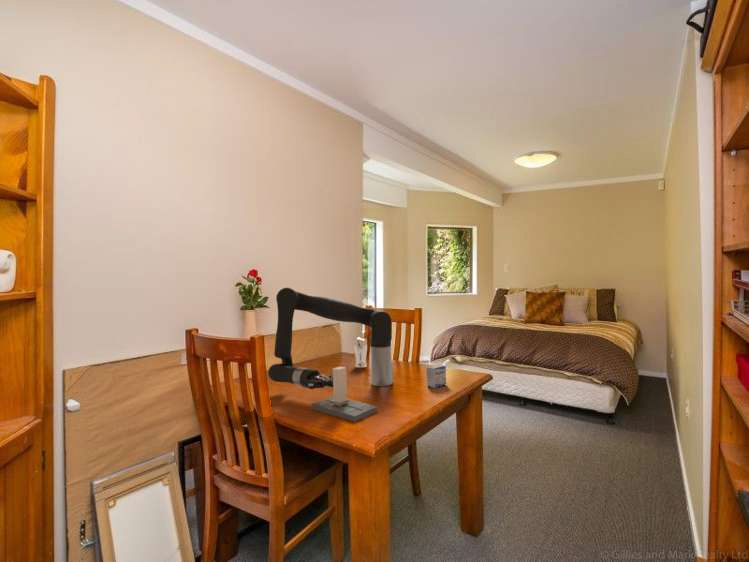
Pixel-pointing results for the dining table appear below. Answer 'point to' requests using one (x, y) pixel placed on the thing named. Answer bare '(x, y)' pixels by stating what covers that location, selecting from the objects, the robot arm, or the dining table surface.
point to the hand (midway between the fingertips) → (337, 384)
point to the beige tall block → (339, 386)
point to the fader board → (345, 409)
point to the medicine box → (436, 376)
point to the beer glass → (360, 352)
